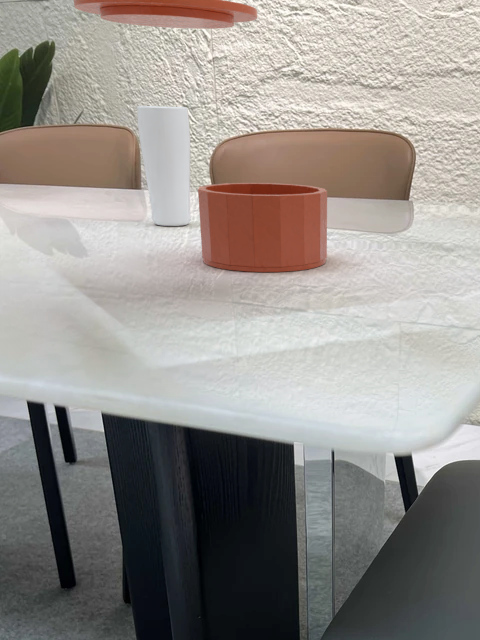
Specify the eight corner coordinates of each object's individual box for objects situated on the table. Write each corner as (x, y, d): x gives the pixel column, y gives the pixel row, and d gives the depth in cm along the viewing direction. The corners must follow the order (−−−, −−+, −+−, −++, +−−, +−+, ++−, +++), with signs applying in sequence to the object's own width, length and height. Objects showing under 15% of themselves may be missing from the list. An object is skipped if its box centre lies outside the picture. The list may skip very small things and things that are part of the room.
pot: (232, 276, 77) (228, 197, 74) (185, 254, 88) (180, 184, 84) (348, 266, 84) (349, 193, 81) (291, 247, 94) (290, 181, 91)
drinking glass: (172, 229, 105) (162, 106, 98) (137, 224, 108) (125, 105, 102) (206, 224, 110) (198, 107, 104) (171, 219, 113) (162, 106, 107)
